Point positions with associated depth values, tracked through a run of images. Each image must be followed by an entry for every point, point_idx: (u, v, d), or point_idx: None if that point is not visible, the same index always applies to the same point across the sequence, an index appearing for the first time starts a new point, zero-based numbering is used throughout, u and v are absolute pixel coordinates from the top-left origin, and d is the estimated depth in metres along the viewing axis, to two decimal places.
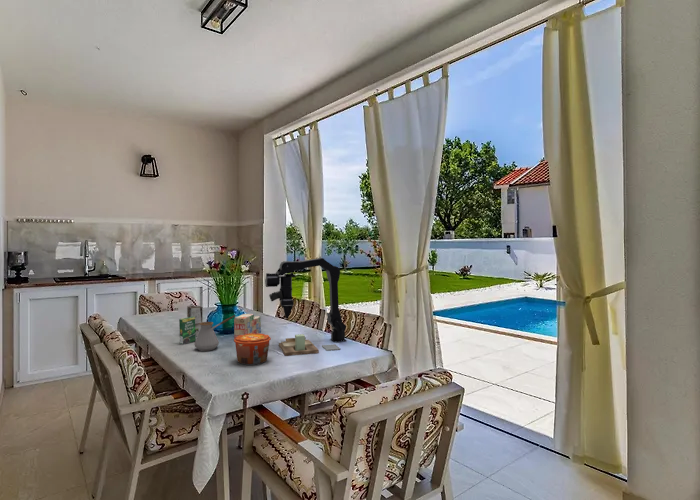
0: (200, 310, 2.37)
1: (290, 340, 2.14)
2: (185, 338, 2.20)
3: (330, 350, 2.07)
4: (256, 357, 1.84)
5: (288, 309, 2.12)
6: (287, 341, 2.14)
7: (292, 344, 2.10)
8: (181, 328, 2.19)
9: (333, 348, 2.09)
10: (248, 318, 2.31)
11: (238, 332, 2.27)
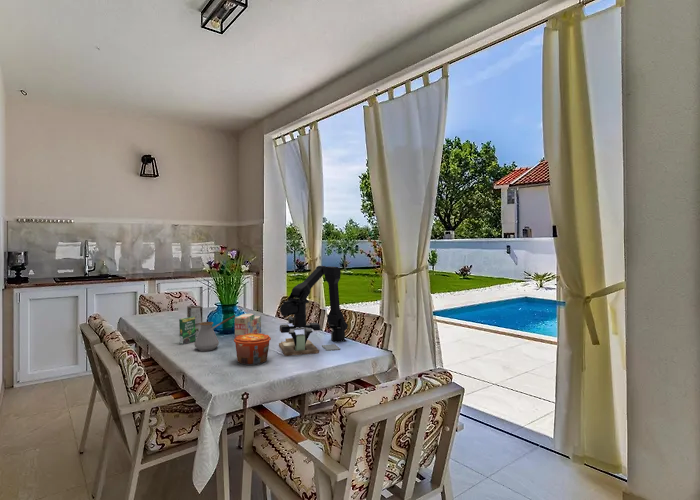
0: (200, 310, 2.37)
1: (290, 340, 2.14)
2: (185, 338, 2.20)
3: (330, 350, 2.07)
4: (256, 357, 1.84)
5: (293, 336, 2.03)
6: (287, 341, 2.14)
7: (292, 344, 2.10)
8: (181, 328, 2.19)
9: (333, 348, 2.09)
10: (248, 318, 2.31)
11: (238, 331, 2.28)
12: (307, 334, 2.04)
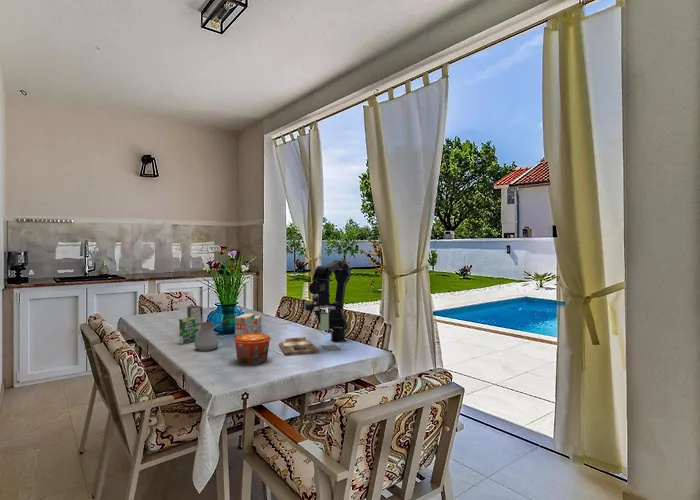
0: (200, 310, 2.37)
1: (290, 340, 2.14)
2: (185, 338, 2.20)
3: (330, 350, 2.07)
4: (256, 357, 1.84)
5: (317, 314, 2.08)
6: (287, 341, 2.14)
7: (292, 344, 2.10)
8: (181, 328, 2.19)
9: (333, 348, 2.09)
10: (249, 318, 2.32)
11: (238, 331, 2.28)
12: (331, 312, 2.08)
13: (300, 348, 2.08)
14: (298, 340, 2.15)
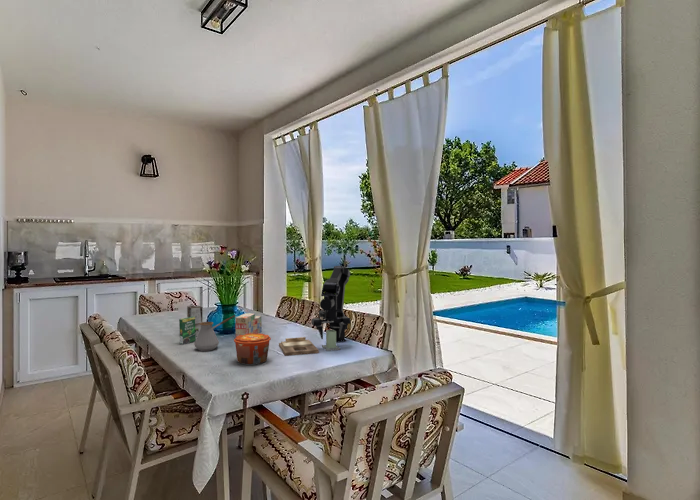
0: (200, 310, 2.37)
1: (290, 340, 2.14)
2: (185, 338, 2.20)
3: (330, 350, 2.07)
4: (256, 357, 1.84)
5: (319, 330, 2.09)
6: (287, 341, 2.14)
7: (292, 344, 2.10)
8: (181, 328, 2.19)
9: (333, 348, 2.09)
10: (249, 318, 2.32)
11: (239, 331, 2.29)
12: (343, 327, 2.11)
13: (300, 348, 2.08)
14: (298, 340, 2.15)
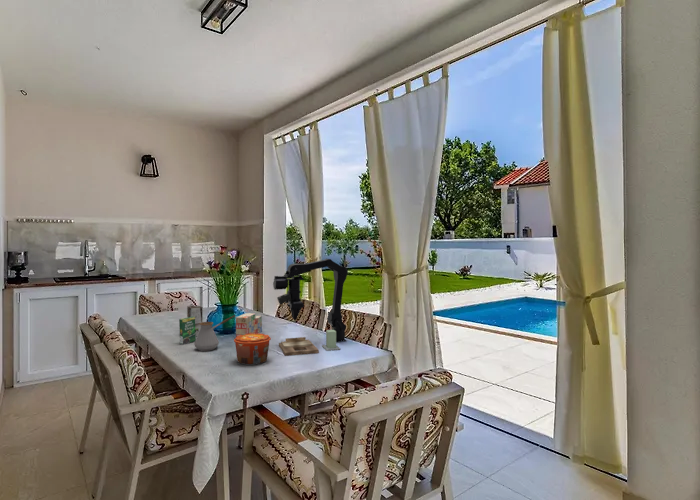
0: (200, 310, 2.37)
1: (290, 340, 2.14)
2: (185, 338, 2.20)
3: (330, 350, 2.07)
4: (256, 357, 1.84)
5: (296, 311, 2.15)
6: (287, 341, 2.14)
7: (292, 344, 2.10)
8: (181, 328, 2.19)
9: (333, 348, 2.09)
10: (250, 317, 2.33)
11: (239, 331, 2.29)
12: None
13: (300, 348, 2.08)
14: (298, 340, 2.15)
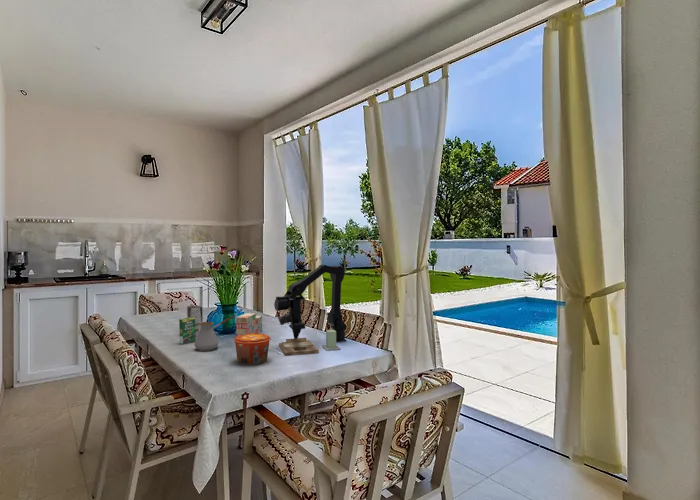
0: (200, 310, 2.37)
1: (291, 341, 2.13)
2: (185, 338, 2.20)
3: (330, 350, 2.07)
4: (256, 357, 1.84)
5: (297, 331, 2.14)
6: (287, 342, 2.12)
7: (292, 345, 2.09)
8: (181, 328, 2.19)
9: (333, 348, 2.09)
10: (250, 317, 2.33)
11: (240, 331, 2.29)
12: None
13: (300, 348, 2.08)
14: (299, 341, 2.14)
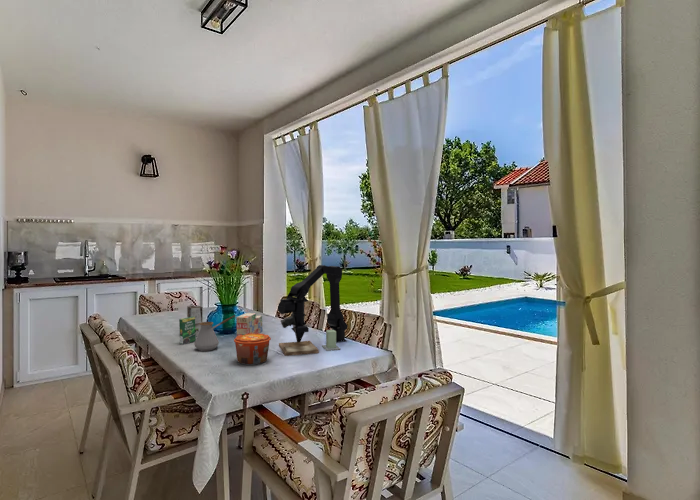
0: (200, 310, 2.37)
1: (294, 344, 2.06)
2: (185, 338, 2.20)
3: (330, 350, 2.07)
4: (256, 357, 1.84)
5: (300, 334, 2.07)
6: (290, 345, 2.05)
7: (295, 348, 2.01)
8: (181, 328, 2.19)
9: (333, 348, 2.09)
10: (250, 317, 2.33)
11: (240, 331, 2.30)
12: None
13: None
14: (302, 344, 2.07)
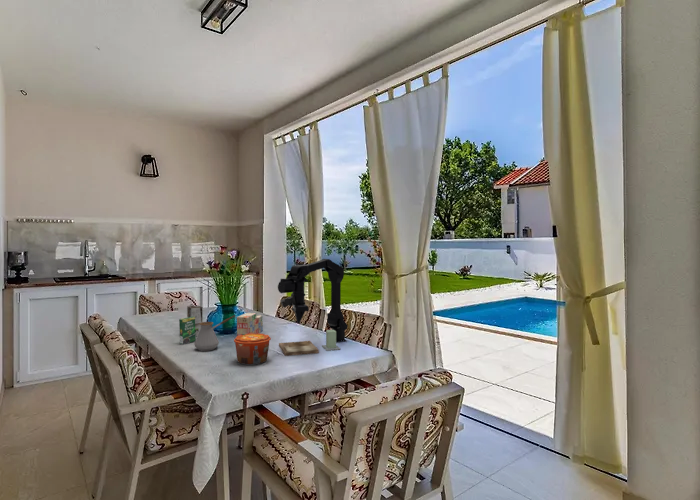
0: (200, 310, 2.37)
1: (294, 344, 2.06)
2: (185, 338, 2.20)
3: (330, 350, 2.07)
4: (256, 357, 1.84)
5: (300, 314, 2.07)
6: (290, 345, 2.05)
7: (295, 348, 2.01)
8: (181, 328, 2.19)
9: (333, 348, 2.09)
10: (250, 317, 2.34)
11: (240, 330, 2.30)
12: None
13: None
14: (302, 344, 2.07)
